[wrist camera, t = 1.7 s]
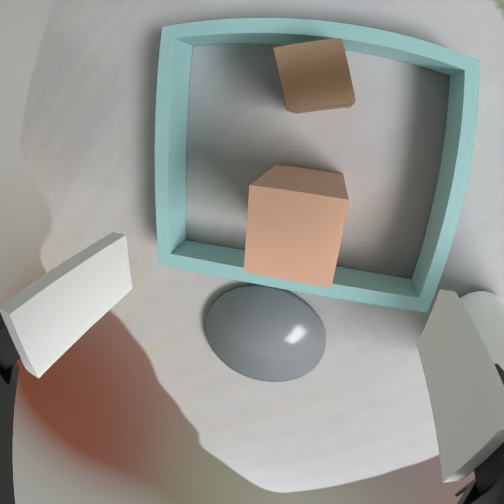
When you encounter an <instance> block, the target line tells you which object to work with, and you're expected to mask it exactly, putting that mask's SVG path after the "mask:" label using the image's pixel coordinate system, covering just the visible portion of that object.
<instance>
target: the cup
mask: <svg viewBox="0 0 504 504" xmlns="http://www.w3.org/2000/svg"><path fill="white" fill-rule="evenodd" d="M460 300H461V302H462V303H463V305H464V307H465V309H466V310H467V312H468V314H469V316H470V317H471V319H472V321H473V323H474V325H475V327H476V328H477V330H478V332H479V334H480V336H481V338H482V340H483V342H484V344H485V346H486V348H487V350H488V352H489V354H490V356H491V358H492V360H493V362H494V364H498V365H499V366H500V367H501V368H502V369H503V371H504V303H503V302H502V301H501V300H500V299H499V298H498V297H497V296H496V295H494V294H493V293H490V292H487V291H475V292H471V293H468V294H466V295H463V296H462V297H460Z"/></svg>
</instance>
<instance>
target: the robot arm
mask: <svg viewBox="0 0 504 504" xmlns="http://www.w3.org/2000/svg"><path fill="white" fill-rule="evenodd" d="M130 290H132V284H131V276H130V268H129V260H128V251H127V241H126V235H124V234H118V233H111V234H110V235H108V236H106V237H104V238H103V239H101V240H99V241H98V242H96V243H94V244H93V245H91V246H89V247H88V248H86V249H84V250H83V251H81V252H79V253H78V254H76V255H75V256H73V257H71V258H70V259H68V260H67V261H65V262H64V263H62V264H60V265H59V266H57V267H56V268H54V269H53V270H51V271H50V272H48V273H47V274H45V275H44V276H42V277H41V278H39V279H38V280H37V281H35V282H33V283H32V284H30V285H29V286H27V287H26V288H25V289H23V290H22V291H20V292H19V293H18V294H16V295H15V296H13V297H12V298H11V299H9V300H8V301H6V302H5V303H3V304H2V305H1V306H0V504H15V498H14V487H13V468H12V467H13V466H12V438H13V417H14V404H15V395H16V386H17V379H18V372H19V368H18V364H17V362H16V361H17V360H19V359H20V358H21V360H22V362H23V364H24V366H25V368H26V370H28V371H29V372H30V373H32V374H33V375H34V376H36V377H37V378H40V377H41V376H42V374H44V372H45V371H46V370H47V369H48V368H49V367H50V366H51V365H52V364H53V363H54V362H55V361H56V360H57V359H58V358H59V357H60V356H61V355H62V354H63V353H64V352H66V350H67V349H69V348H70V347H71V346H72V345H73V344H74V343H75V342H76V341H77V340H78V339H79V338H80V337H81V336H82V335H83V334H84V333H85V332H86V331H87V330H88V329H89V328H90V327H91V326H92V325H93V324H95V323H96V322H97V321H98V320H99V319H100V318H101V317H102V316H103V315H104V314H105V313H106V312H107V311H109V310H110V309H111V308H112V307H113V306H114V305H115V304H116V303H117V302H118V301H119V300H121V299H122V298H123V297H124V296H125V295H126V294H127V293H128V292H129V291H130ZM417 347H418V351H419V354H420V358H421V362H422V366H423V370H424V374H425V378H426V383H427V387H428V392H429V396H430V401H431V406H432V411H433V416H434V422H435V428H436V434H437V440H438V447H439V454H440V462H441V471H442V480H443V482H451V481H459V480H463V479H464V478H465V477H467V476H468V475H469V474H470V473H471V472H473V471H474V473H475V479H474V480H473V481H471V482H470V483H469V484H467V485H466V486H465V487H463V488H462V489H461V490H459V491H458V492H457V493H456V495H455V496H459V495H460V494H461V493H463V492H464V491H465V492H464V494H463V496H462V497H461V498H460V500H459V502H458V503H457V504H504V371H503V369H502V368H501V367H500V366H499V365H498V364H494V362H493V360H492V358H491V356H490V354H489V352H488V350H487V348H486V346H485V344H484V342H483V340H482V338H481V336H480V334H479V332H478V330H477V328H476V327H475V325H474V323H473V321H472V319H471V317H470V316H469V314H468V312H467V310H466V309H465V307H464V305H463V303H462V302H461V300H460V298H459V297H458V295H457V293H456V292H454V291H448V290H442V289H440V291H439V293H438V296H437V298H436V301H435V304H434V306H433V308H432V311H431V313H430V316H429V318H428V320H427V323H426V325H425V327H424V330H423V332H422V334H421V336H420V338H419V340H418V343H417Z"/></svg>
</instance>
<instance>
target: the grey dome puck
mask: <svg viewBox="0 0 504 504" xmlns="http://www.w3.org/2000/svg"><path fill="white" fill-rule="evenodd" d="M205 330H206V336H207V340H208V342H209V344H210V346H211V348H212V350H213V351H214V353H215V354H216V355H217V356H218V358H219V359H220V360H221V361H222V362H224V363H225V364H226V365H227V366H228V367H230V368H231V369H233V370H234V371H236V372H238V373H240V374H242V375H244V376H247V377H249V378H252V379H256V380H261V381H268V382H282V381H289V380H293V379H296V378H299V377H301V376H303V375H305V374H307V373H308V372H310V371H311V370H312V369H313V368H315V366H316V365H317V364H318V363H319V361H320V360H321V358H322V356H323V353H324V349H325V330H324V327H323V324H322V322H321V320H320V318H319V316H318V315H317V313H316V312H315V311H314V310H313V309H312V307H311V306H310V305H309V304H307V303H306V302H305V301H304V300H302V299H301V298H299V297H298V296H296V295H294V294H292V293H290V292H288V291H286V290H283V289H280V288H275V287H270V286H264V285H246V286H241V287H237V288H234V289H232V290H229V291H228V292H226V293H224V294H223V295H221V296H220V297H219V298H218V299H217V300H216V301H215V302H214V304H213V305H212V307H211V308H210V310H209V312H208V314H207V317H206V322H205Z"/></svg>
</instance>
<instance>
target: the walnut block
mask: <svg viewBox="0 0 504 504" xmlns="http://www.w3.org/2000/svg"><path fill="white" fill-rule="evenodd" d="M273 49H274V53H275V58H276V62H277V67H278V71H279V76H280V81H281V86H282V91H283V95H284V100H285V106H286V110H287V111H290V112H293V113H303V112H310V111H318V110H327V109H336V108H346V107H351V106H352V105H353V104H354V103H355V97H354V91H353V86H352V81H351V76H350V72H349V67H348V63H347V58H346V54H345V50H344V46H343V42H342V38H337V39H327V40H318V41H311V42H303V43H297V44H291V45H285V46H279V47H274V48H273Z"/></svg>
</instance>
